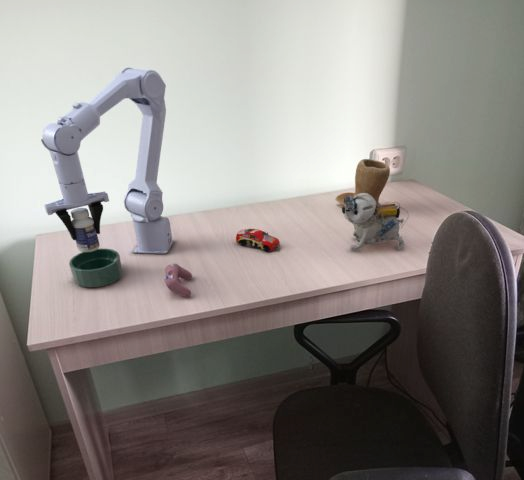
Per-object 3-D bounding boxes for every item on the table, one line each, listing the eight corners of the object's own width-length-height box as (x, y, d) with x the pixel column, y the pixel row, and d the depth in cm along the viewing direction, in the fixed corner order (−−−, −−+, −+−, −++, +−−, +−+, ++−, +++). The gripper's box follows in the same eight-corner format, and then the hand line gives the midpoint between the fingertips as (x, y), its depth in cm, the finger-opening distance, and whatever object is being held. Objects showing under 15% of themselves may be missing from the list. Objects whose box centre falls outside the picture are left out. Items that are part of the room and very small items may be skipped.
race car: (283, 246, 137) (283, 233, 135) (273, 254, 134) (273, 240, 131) (244, 236, 143) (243, 223, 141) (233, 243, 140) (232, 230, 137)
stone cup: (392, 213, 153) (399, 164, 144) (360, 220, 150) (365, 170, 140) (364, 198, 164) (369, 151, 155) (334, 204, 161) (336, 157, 152)
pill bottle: (94, 253, 122) (84, 215, 116) (74, 252, 123) (63, 214, 117) (104, 244, 126) (94, 207, 120) (84, 243, 127) (74, 206, 121)
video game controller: (178, 284, 125) (162, 262, 121) (193, 275, 124) (177, 254, 120) (176, 304, 117) (159, 282, 113) (192, 296, 116) (175, 273, 112)
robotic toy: (334, 238, 140) (337, 186, 131) (393, 234, 141) (401, 181, 132) (344, 259, 130) (348, 203, 121) (409, 254, 131) (418, 198, 122)
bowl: (129, 266, 131) (126, 248, 128) (113, 289, 121) (108, 271, 118) (86, 265, 132) (81, 247, 129) (66, 288, 123) (60, 270, 119)
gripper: (96, 169, 120) (109, 223, 128) (35, 182, 114) (52, 237, 122) (106, 177, 115) (118, 232, 123) (42, 190, 109) (59, 247, 117)
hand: (86, 235), depth 122 cm, fingers closed on pill bottle, 5 cm apart
